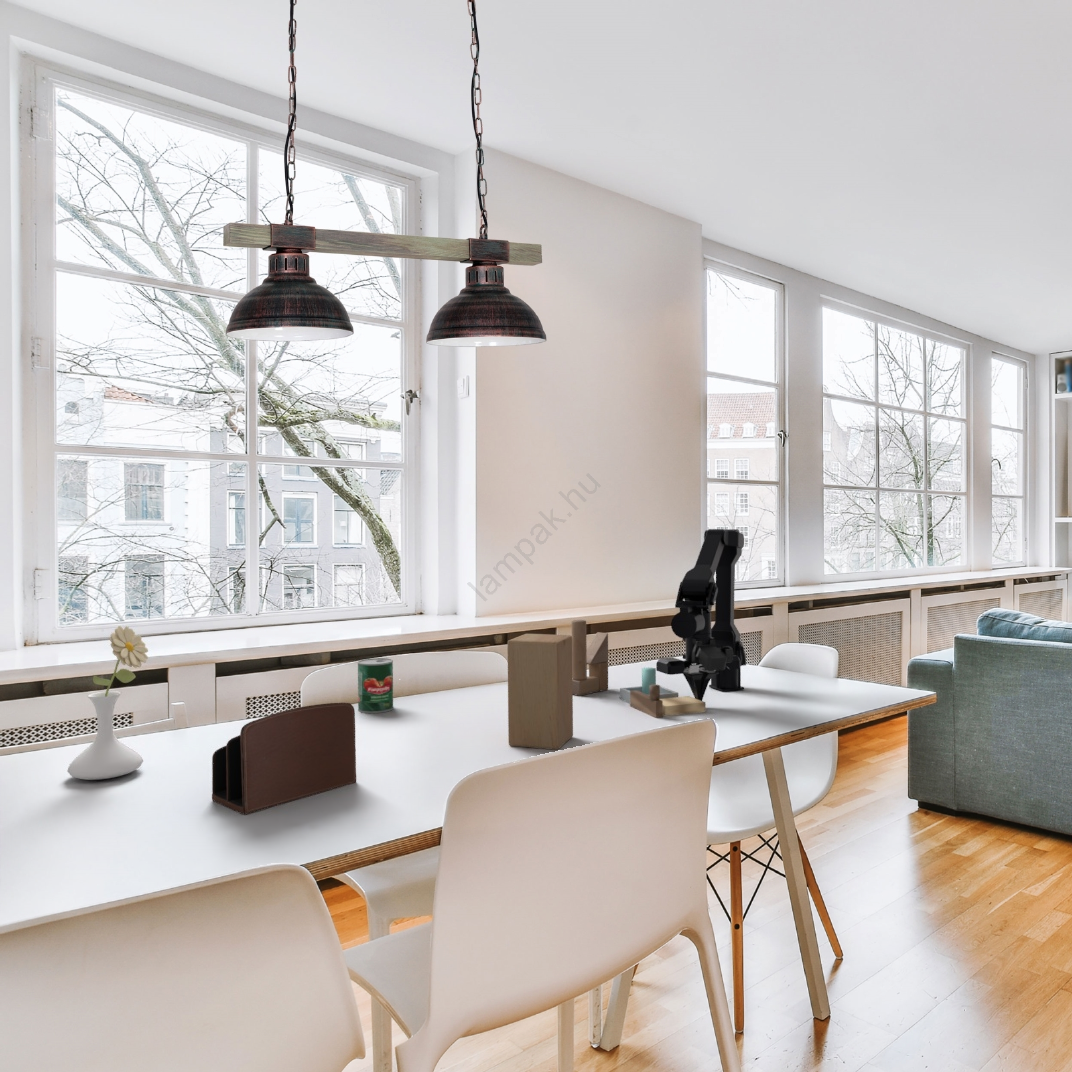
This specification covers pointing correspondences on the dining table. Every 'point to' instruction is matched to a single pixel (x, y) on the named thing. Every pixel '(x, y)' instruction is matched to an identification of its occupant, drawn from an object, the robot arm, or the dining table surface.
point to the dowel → (648, 679)
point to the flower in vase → (111, 717)
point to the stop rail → (648, 701)
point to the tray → (626, 691)
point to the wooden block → (540, 691)
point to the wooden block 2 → (588, 660)
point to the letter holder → (286, 758)
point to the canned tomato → (375, 685)
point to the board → (682, 705)
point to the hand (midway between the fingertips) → (698, 701)
